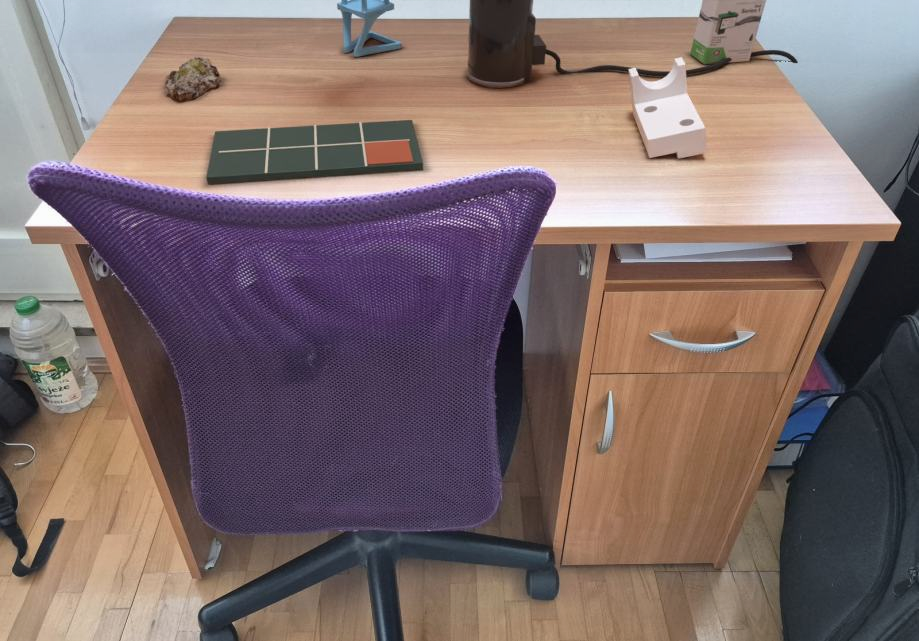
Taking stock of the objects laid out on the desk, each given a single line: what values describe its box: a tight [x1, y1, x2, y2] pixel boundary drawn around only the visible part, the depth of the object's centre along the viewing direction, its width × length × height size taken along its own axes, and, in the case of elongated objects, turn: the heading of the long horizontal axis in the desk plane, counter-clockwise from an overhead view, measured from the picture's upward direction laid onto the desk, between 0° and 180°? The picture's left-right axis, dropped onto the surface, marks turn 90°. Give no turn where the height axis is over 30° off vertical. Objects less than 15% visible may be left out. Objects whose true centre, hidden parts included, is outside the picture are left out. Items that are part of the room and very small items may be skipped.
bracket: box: [628, 56, 707, 160], centre depth 96 cm, size 13×7×8 cm, turn 179°
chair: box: [336, 0, 402, 58], centre depth 116 cm, size 8×8×12 cm
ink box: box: [689, 0, 767, 65], centre depth 116 cm, size 9×5×12 cm, turn 103°
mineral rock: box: [164, 56, 221, 102], centre depth 107 cm, size 11×4×8 cm
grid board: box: [205, 119, 424, 185], centre depth 93 cm, size 26×12×1 cm, turn 99°
